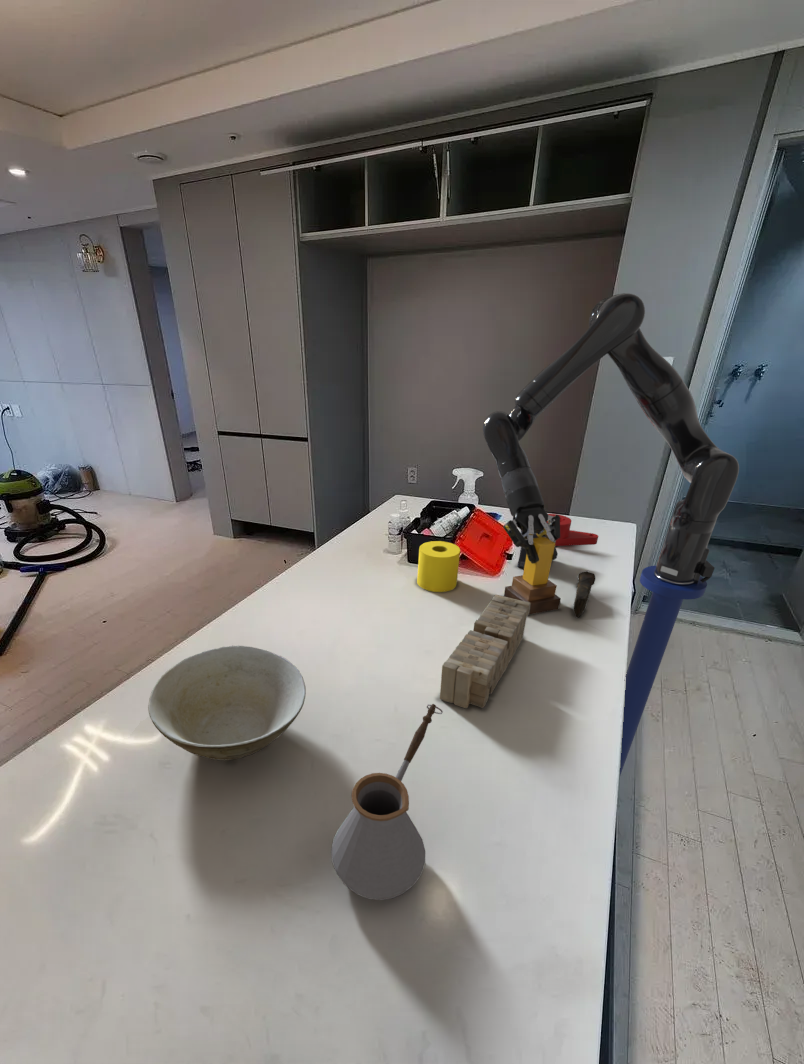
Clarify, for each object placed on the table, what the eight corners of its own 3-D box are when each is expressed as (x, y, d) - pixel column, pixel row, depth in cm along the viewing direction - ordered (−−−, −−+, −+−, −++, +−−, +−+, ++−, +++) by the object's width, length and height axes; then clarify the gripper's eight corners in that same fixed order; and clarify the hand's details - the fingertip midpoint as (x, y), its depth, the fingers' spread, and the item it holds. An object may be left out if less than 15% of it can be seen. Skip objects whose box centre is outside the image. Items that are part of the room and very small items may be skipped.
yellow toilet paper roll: (455, 575, 134) (459, 542, 129) (457, 593, 125) (460, 558, 121) (417, 573, 135) (420, 540, 131) (416, 590, 127) (418, 556, 122)
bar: (536, 576, 120) (544, 536, 115) (547, 583, 117) (555, 543, 112) (522, 578, 119) (529, 538, 114) (532, 586, 116) (539, 545, 111)
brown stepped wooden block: (535, 592, 126) (539, 570, 123) (558, 609, 118) (563, 586, 115) (503, 597, 123) (506, 575, 120) (524, 615, 116) (529, 592, 113)
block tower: (479, 718, 88) (526, 634, 109) (485, 680, 83) (533, 600, 105) (437, 702, 91) (490, 624, 112) (440, 664, 87) (495, 591, 108)
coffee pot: (398, 932, 56) (404, 846, 49) (313, 880, 62) (307, 795, 54) (466, 796, 72) (478, 716, 65) (394, 764, 78) (398, 687, 70)
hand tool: (576, 583, 130) (580, 566, 128) (593, 586, 128) (597, 570, 126) (563, 616, 116) (567, 599, 113) (582, 621, 114) (586, 603, 112)
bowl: (336, 720, 86) (335, 672, 81) (236, 822, 69) (227, 769, 64) (236, 673, 97) (230, 629, 93) (128, 751, 80) (113, 702, 75)
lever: (536, 544, 152) (540, 523, 148) (532, 533, 160) (536, 513, 156) (600, 548, 149) (605, 527, 146) (593, 536, 157) (598, 516, 154)
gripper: (502, 487, 112) (525, 559, 108) (557, 481, 116) (581, 550, 112) (487, 502, 119) (508, 571, 115) (539, 497, 123) (561, 562, 119)
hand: (544, 560), depth 113 cm, fingers closed on bar, 4 cm apart
